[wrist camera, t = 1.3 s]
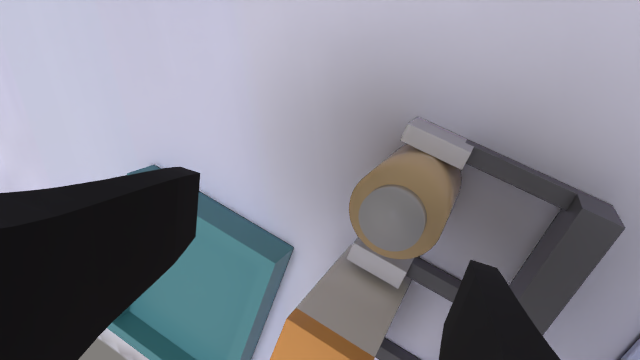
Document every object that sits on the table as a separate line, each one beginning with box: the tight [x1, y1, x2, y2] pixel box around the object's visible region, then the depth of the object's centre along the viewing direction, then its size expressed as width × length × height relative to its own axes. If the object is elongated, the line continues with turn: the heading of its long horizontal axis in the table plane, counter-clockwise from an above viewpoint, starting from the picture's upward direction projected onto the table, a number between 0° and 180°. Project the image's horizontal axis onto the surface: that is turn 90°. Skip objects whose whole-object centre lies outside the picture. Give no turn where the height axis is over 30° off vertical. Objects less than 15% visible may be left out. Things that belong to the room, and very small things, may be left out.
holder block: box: [347, 117, 625, 360], centre depth 21 cm, size 9×19×2 cm, turn 158°
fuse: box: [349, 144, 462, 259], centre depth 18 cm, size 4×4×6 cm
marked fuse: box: [270, 245, 412, 360], centre depth 20 cm, size 4×4×7 cm
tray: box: [107, 165, 294, 360], centre depth 28 cm, size 11×13×2 cm
